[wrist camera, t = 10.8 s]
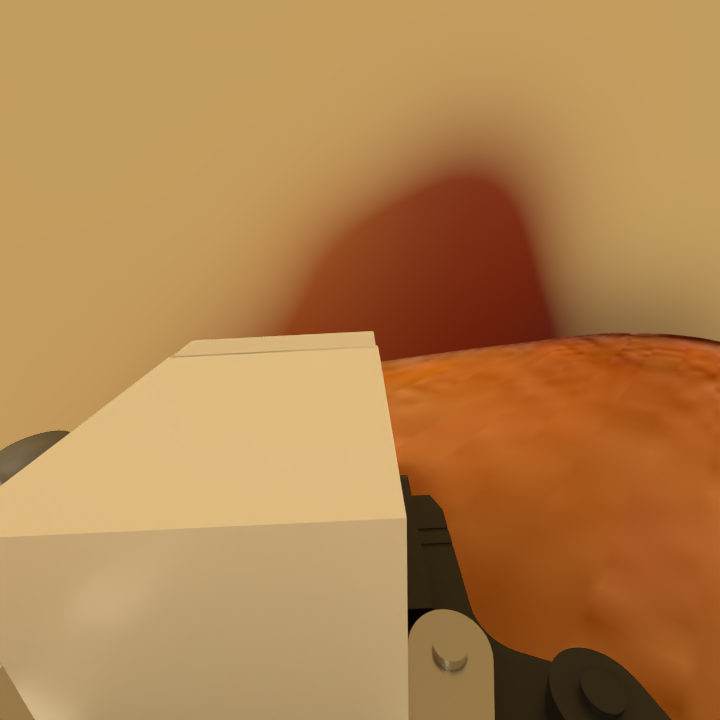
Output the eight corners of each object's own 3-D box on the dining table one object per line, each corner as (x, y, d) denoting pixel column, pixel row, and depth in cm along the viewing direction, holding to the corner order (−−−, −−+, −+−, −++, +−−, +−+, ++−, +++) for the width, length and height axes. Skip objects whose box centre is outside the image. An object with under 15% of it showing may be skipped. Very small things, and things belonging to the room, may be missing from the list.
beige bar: (182, 967, 8) (-71, 540, 4) (257, 643, 13) (190, 340, 9) (410, 959, 7) (406, 517, 4) (387, 637, 13) (375, 331, 9)
